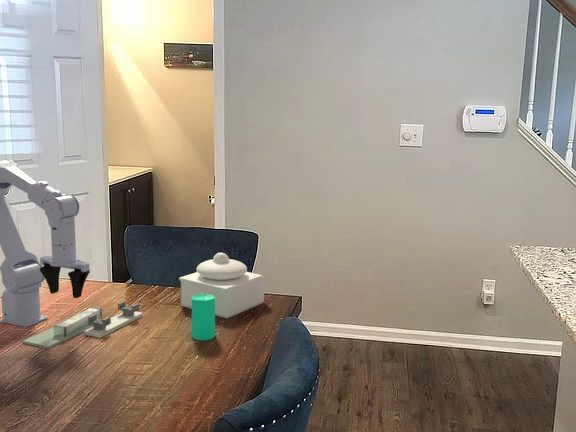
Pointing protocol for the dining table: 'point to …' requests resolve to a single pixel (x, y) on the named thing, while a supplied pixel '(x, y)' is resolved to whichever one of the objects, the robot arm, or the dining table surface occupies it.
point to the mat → (51, 338)
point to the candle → (203, 316)
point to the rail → (76, 322)
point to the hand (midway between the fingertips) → (65, 294)
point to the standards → (113, 320)
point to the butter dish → (224, 285)
